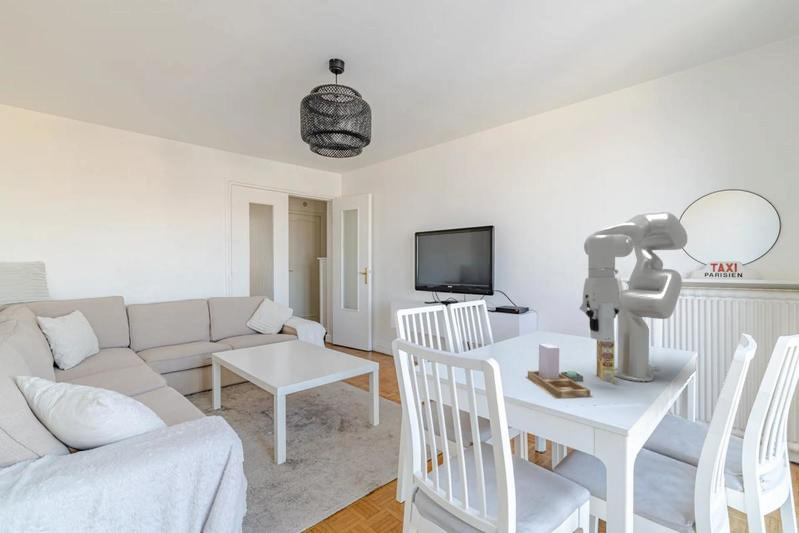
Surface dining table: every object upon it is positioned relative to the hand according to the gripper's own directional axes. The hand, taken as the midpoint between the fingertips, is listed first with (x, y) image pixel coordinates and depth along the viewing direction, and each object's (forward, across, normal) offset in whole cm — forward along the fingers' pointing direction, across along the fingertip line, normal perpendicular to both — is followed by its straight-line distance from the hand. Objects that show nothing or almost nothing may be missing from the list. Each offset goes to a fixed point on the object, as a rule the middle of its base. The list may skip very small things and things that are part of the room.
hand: (601, 329), depth 118 cm
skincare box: (+3, 0, 0) cm, 3 cm away
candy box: (+21, -8, -9) cm, 24 cm away
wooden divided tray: (+20, +14, -2) cm, 24 cm away
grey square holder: (+20, +5, -8) cm, 22 cm away
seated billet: (+18, +14, -7) cm, 24 cm away
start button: (+19, +5, -8) cm, 21 cm away
